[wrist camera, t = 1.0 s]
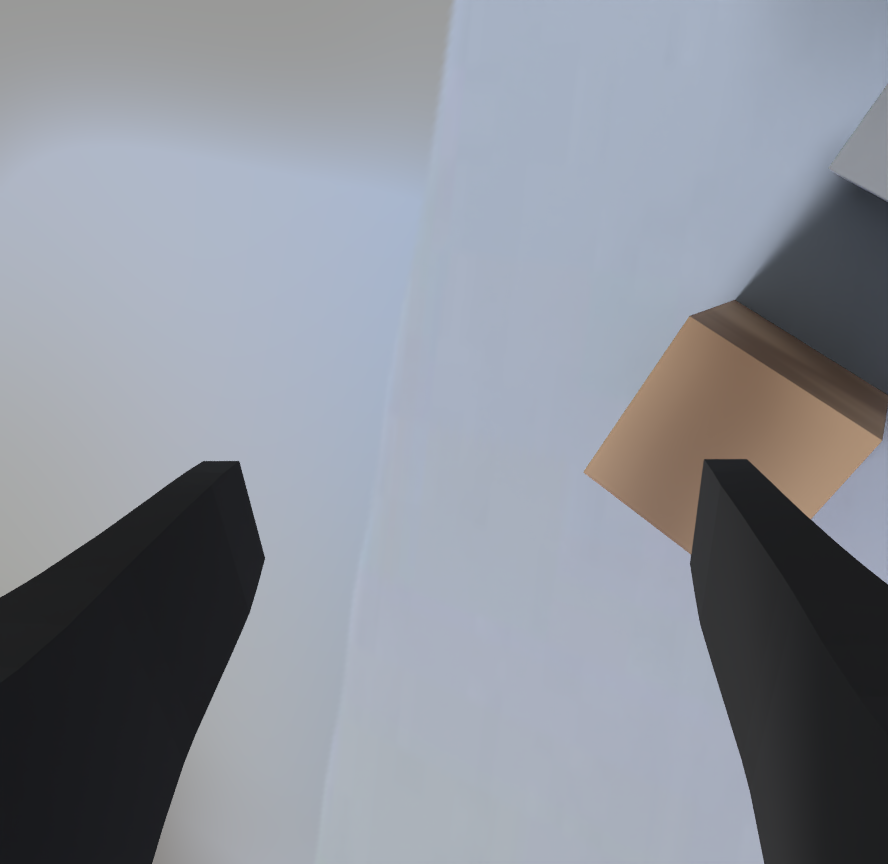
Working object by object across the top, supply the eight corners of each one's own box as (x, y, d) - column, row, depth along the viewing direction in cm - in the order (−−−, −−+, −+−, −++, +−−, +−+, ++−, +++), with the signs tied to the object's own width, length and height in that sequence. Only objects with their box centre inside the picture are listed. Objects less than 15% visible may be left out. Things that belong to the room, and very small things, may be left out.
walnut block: (889, 395, 19) (882, 440, 15) (776, 523, 21) (743, 593, 17) (735, 299, 20) (689, 316, 16) (644, 428, 22) (583, 472, 18)
